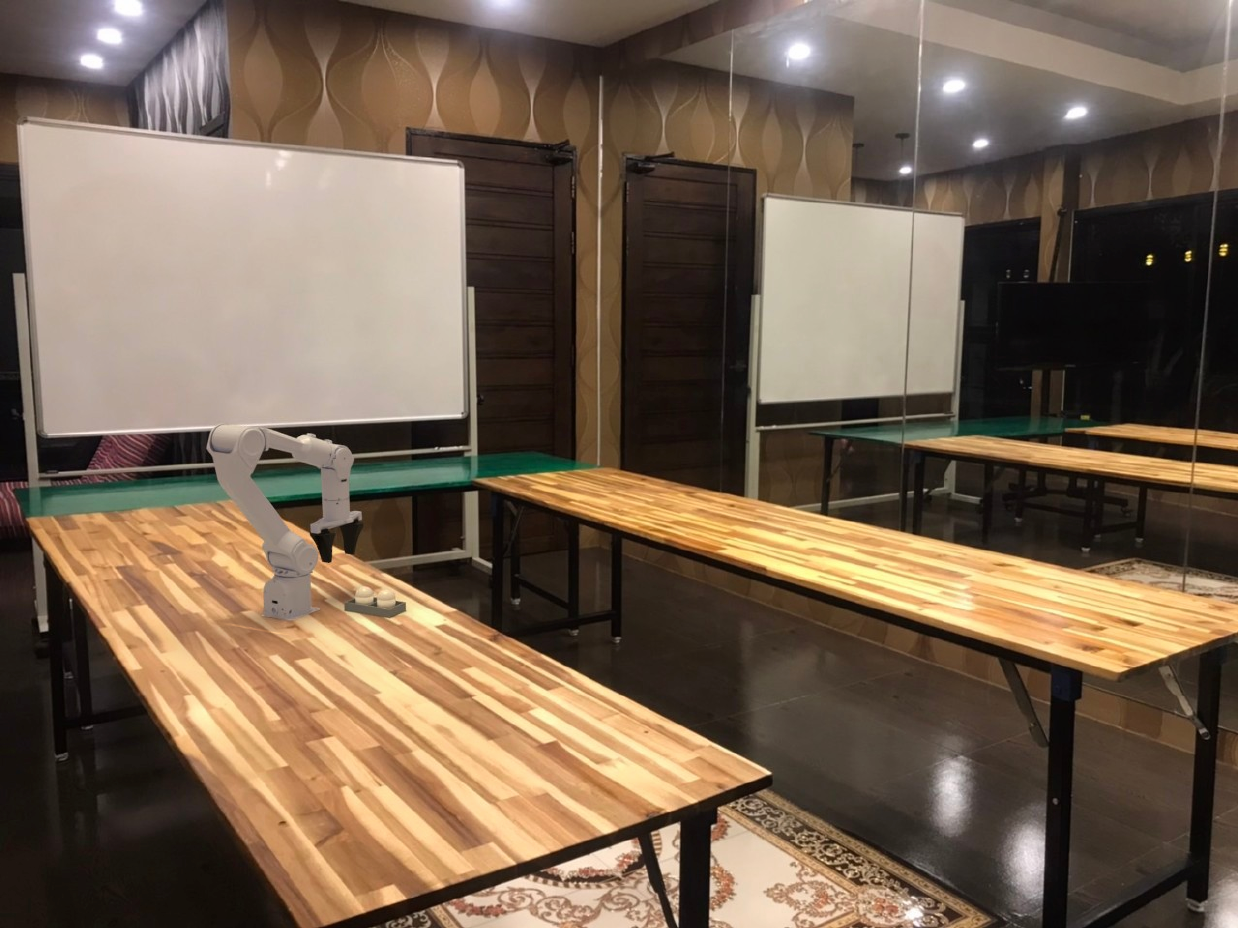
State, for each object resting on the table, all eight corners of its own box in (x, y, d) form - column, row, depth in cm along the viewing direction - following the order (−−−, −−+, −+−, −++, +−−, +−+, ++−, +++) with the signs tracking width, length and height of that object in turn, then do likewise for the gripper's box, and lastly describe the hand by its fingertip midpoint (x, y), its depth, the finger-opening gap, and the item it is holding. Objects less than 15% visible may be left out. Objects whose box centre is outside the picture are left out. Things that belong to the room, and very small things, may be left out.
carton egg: (366, 612, 199) (366, 589, 198) (351, 609, 200) (351, 587, 199) (377, 607, 202) (376, 585, 201) (362, 605, 204) (362, 583, 203)
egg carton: (389, 619, 195) (389, 609, 195) (344, 612, 200) (344, 602, 199) (405, 612, 201) (405, 602, 200) (361, 605, 205) (361, 595, 205)
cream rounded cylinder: (388, 615, 197) (387, 592, 196) (373, 613, 198) (373, 590, 197) (399, 610, 200) (398, 588, 199) (384, 608, 202) (384, 586, 201)
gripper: (327, 506, 197) (330, 568, 200) (371, 493, 210) (373, 552, 213) (301, 503, 200) (304, 564, 202) (346, 491, 213) (349, 548, 215)
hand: (338, 557), depth 208 cm, fingers open, 7 cm apart
